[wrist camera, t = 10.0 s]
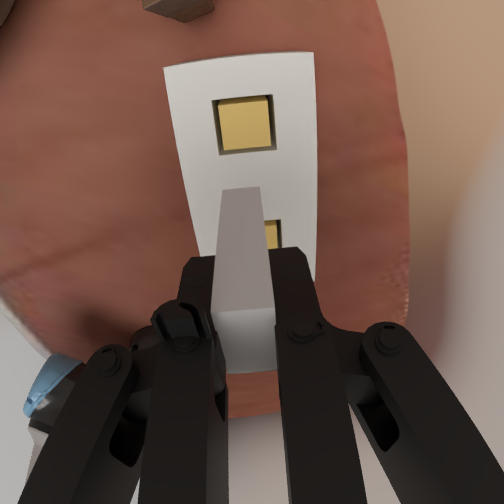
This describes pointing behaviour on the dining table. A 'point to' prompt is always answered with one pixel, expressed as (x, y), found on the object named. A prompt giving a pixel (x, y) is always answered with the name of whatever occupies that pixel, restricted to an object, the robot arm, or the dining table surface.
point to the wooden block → (179, 8)
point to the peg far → (271, 234)
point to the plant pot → (5, 9)
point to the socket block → (249, 159)
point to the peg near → (244, 122)
